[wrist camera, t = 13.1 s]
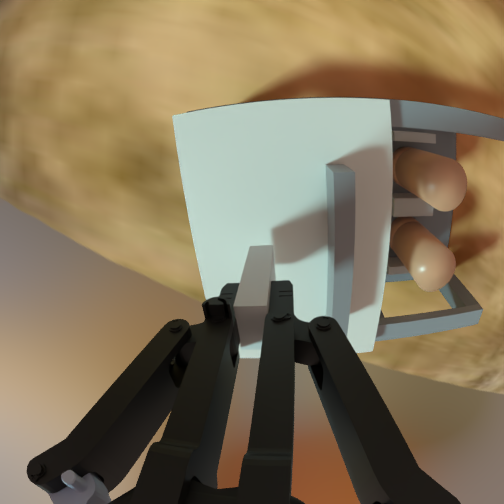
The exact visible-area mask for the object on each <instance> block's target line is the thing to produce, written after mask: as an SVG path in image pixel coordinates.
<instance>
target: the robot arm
mask: <svg viewBox="0 0 504 504" xmlns="http://www.w3.org/2000/svg"><path fill="white" fill-rule="evenodd" d="M202 307H203V311H204V315H205V321H204V322H203V323H200V324H196V325H191V326H189V323H188V322H187V321H186V320H183V319H176V320H172V321H170V322H168V323H167V324H166V325H164V327H163V328H162V329H161V330H160V331H159V332H158V333H157V334H156V336H155V337H154V338H153V339H152V340H151V341H150V342H149V343H148V345H147V346H146V347H145V348H144V349H143V350H142V351H141V353H140V354H139V355H138V356H137V357H136V358H135V359H134V360H133V361H132V363H131V364H130V365H129V366H128V367H127V368H126V369H125V371H124V372H123V373H122V374H121V375H120V376H119V377H118V379H117V380H116V381H115V382H114V383H113V384H112V385H111V387H110V388H109V389H108V390H107V391H106V392H105V394H104V395H103V396H102V397H101V398H100V399H99V400H98V402H97V403H96V404H95V405H94V406H93V407H92V408H91V410H90V411H89V412H88V413H87V414H86V416H85V417H84V418H83V419H82V420H81V421H80V422H79V424H78V425H77V426H76V427H75V429H73V431H72V432H71V433H70V434H69V436H68V437H67V438H66V439H65V440H63V441H61V442H60V443H58V444H57V445H55V446H53V447H52V448H50V449H48V450H47V451H45V452H43V453H41V454H40V455H38V456H36V457H35V458H33V459H32V460H31V461H30V462H29V464H28V466H27V475H28V478H29V479H30V481H31V482H33V483H34V484H35V485H37V486H38V487H40V488H41V489H43V490H45V491H46V492H47V493H48V494H49V496H50V498H51V500H52V501H53V503H54V504H305V503H304V502H302V501H300V500H299V499H297V498H295V497H293V496H291V484H292V464H293V437H294V436H293V435H294V393H295V390H294V389H295V362H296V363H300V364H305V365H308V368H309V371H310V373H311V376H312V379H313V381H314V384H315V386H316V389H317V392H318V394H319V397H320V400H321V402H322V405H323V407H324V410H325V412H326V415H327V418H328V420H329V423H330V425H331V428H332V431H333V434H334V436H335V438H336V441H337V444H338V447H339V449H340V452H341V455H342V457H343V460H344V462H345V465H346V468H347V471H348V473H349V476H350V479H351V481H352V484H353V487H354V489H355V492H356V494H357V497H358V499H359V501H360V503H361V504H461V503H460V502H459V501H458V499H457V498H456V497H454V496H453V495H452V494H451V493H449V492H448V491H447V490H445V489H444V488H443V487H442V486H441V485H440V484H438V483H437V482H436V481H435V480H433V479H432V478H431V477H430V476H429V475H427V474H426V473H425V472H424V471H422V470H421V469H420V468H419V467H418V465H417V463H416V461H415V459H414V457H413V455H412V453H411V451H410V449H409V447H408V445H407V443H406V442H405V439H404V438H403V436H402V434H401V432H400V430H399V428H398V426H397V425H396V423H395V421H394V419H393V418H392V415H391V414H390V412H389V410H388V408H387V406H386V404H385V403H384V401H383V399H382V397H381V396H380V394H379V392H378V390H377V389H376V387H375V385H374V383H373V381H372V380H371V378H370V376H369V374H368V373H367V371H366V369H365V367H364V366H363V364H362V362H361V360H360V359H359V357H358V355H357V354H356V352H355V350H354V349H353V347H352V345H351V343H350V342H349V340H348V338H347V337H346V335H345V333H344V332H343V330H342V328H341V327H340V325H339V323H338V322H337V321H336V320H335V319H334V318H332V317H329V316H319V317H316V318H314V319H312V320H311V321H310V322H305V321H302V320H300V319H298V318H297V317H296V316H295V315H294V298H293V284H292V283H291V282H290V281H289V280H282V281H276V276H275V263H274V251H273V245H260V246H250V247H249V251H248V254H247V258H246V262H245V265H244V269H243V273H242V276H241V280H240V283H227V284H226V285H225V286H224V287H223V288H222V289H221V292H220V295H219V297H212V298H209V299H207V300H206V301H204V302H203V304H202ZM239 344H240V346H241V350H261V355H260V363H259V370H258V379H257V386H256V393H255V401H254V408H253V415H252V424H251V430H250V437H249V444H248V450H247V453H246V454H245V455H244V458H243V461H242V467H241V474H240V479H239V486H238V487H235V488H225V489H217V469H218V464H219V459H220V454H221V450H222V444H223V439H224V435H225V429H226V425H227V419H228V414H229V409H230V404H231V399H232V394H233V389H234V383H235V379H236V374H237V368H238V363H239V358H240V355H239ZM173 359H174V360H173ZM170 411H171V413H170ZM169 413H170V416H169V419H168V422H167V425H166V427H165V430H164V433H163V436H162V438H161V440H160V441H159V442H155V443H153V444H152V445H151V446H150V448H149V451H148V453H147V456H146V459H145V461H144V464H143V467H142V470H141V473H140V475H139V478H138V481H137V484H136V487H134V488H133V489H131V490H130V491H128V492H126V493H125V494H123V495H122V496H120V497H118V498H116V499H115V500H113V501H111V499H110V497H109V494H108V493H109V492H110V491H111V490H113V489H114V488H115V487H116V486H117V485H118V484H119V483H120V482H121V481H122V480H123V479H124V477H125V476H126V475H127V474H128V472H129V471H130V469H131V468H132V466H133V465H134V464H135V462H136V461H137V459H138V458H139V457H140V455H141V453H142V452H143V451H144V449H145V448H146V447H147V445H148V444H149V442H150V441H151V439H152V438H153V436H154V435H155V433H156V432H157V430H158V429H159V428H160V426H161V425H162V423H163V422H164V420H165V419H166V417H167V416H168V414H169Z"/></svg>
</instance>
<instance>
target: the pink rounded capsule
mask: <svg viewBox="0 0 504 504" xmlns="http://www.w3.org/2000/svg"><path fill="white" fill-rule="evenodd" d="M393 180H394V182H395V183H397V184H398V185H400V186H401V187H403V188H405V189H406V190H408V191H409V192H411V193H413V194H414V195H416V196H417V197H419V198H420V199H422V200H423V201H425V202H427V203H428V204H430V205H431V206H432V207H434V208H435V209H437V210H439V211H451V210H453V209H455V208H456V207H457V206H458V205H459V204H460V203H461V202H462V200H463V199H464V196H465V194H466V190H467V178H466V174H465V171H464V169H463V167H462V166H461V165H460V164H459V163H458V162H457V161H456V160H454V159H451V158H448V157H444V156H441V155H438V154H434V153H431V152H427V151H423V150H419V149H416V148H412V147H401V148H398V149H397V150H396V151H394V153H393Z"/></svg>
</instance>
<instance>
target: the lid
mask: <svg viewBox="0 0 504 504" xmlns="http://www.w3.org/2000/svg"><path fill="white" fill-rule="evenodd" d="M172 117H173V124H174V132H175V139H176V145H177V152H178V158H179V165H180V171H181V177H182V183H183V189H184V194H185V200H186V205H187V211H188V216H189V222H190V227H191V232H192V237H193V242H194V247H195V252H196V256H197V261H198V266H199V270H200V275H201V280H202V284H203V288H204V293H205V297H206V300H207V299H209V298H212V297H219V295H220V292H221V289H222V288H223V287H224V286H225V285H226V284H227V283H240V280H241V276H242V273H243V269H244V265H245V262H246V258H247V254H248V251H249V247H250V246H260V245H273V251H274V263H275V276H276V281H282V280H289V281H290V282H291V283H292V284H293V298H294V315H295V316H296V317H297V318H298V319H300V320H302V321H305V322H310V321H311V320H312V319H314V318H316V317H319V316H329V317H332V318H334V319H335V320H336V321H337V322H338V323H339V325H340V327H341V328H342V330H343V332H344V333H345V335H346V337H347V338H348V340H349V342H350V343H351V345H352V347H353V349H354V350H355V352H356V353H361V352H370V351H373V347H374V343H375V338H376V333H377V328H378V323H379V317H380V311H381V306H382V299H383V293H384V286H385V279H386V271H387V262H388V253H389V242H390V230H391V215H392V189H393V152H392V127H391V112H390V100H384V99H367V98H305V99H286V100H273V101H262V102H253V103H244V104H236V105H229V106H222V107H216V108H210V109H204V110H198V111H193V112H188V113H183V114H178V115H173V116H172ZM239 355H240V358H260V355H261V350H241V346H240V344H239Z"/></svg>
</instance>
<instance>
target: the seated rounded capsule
mask: <svg viewBox="0 0 504 504" xmlns="http://www.w3.org/2000/svg"><path fill="white" fill-rule="evenodd" d="M389 245H390V247H391V248H392V249H393V251H394V252H395V253H396V255H397V256H398V258H399V259H400V260H401V262H402V263H403V264H404V266H405V267H406V269H407V270H408V271H409V273H410V274H411V276H412V277H413V279H414V280H415V282H416V283H417V284H418V286H419V287H420V288H421V289H422V290H424V291H427V292H432V291H436V290H439V289H441V288H442V287H444V286H445V285H446V284H447V283H448V282H449V281H450V279H451V278H452V276H453V274H454V272H455V267H456V260H455V256H454V254H453V253H452V252H451V251H450V250H449V249H448V248H447V247H446V246H445V245H444V244H443V243H442V242H441V241H440V240H438V239H437V238H436V237H435V236H434V235H433V234H432V233H431V232H430V231H429V230H427V229H426V228H425V227H424V226H423V225H422V224H421V223H419V222H418V221H417V220H416V219H415V218H413V217H411V216H409V217H398V218H396V219H395V220H394V221H393V222H392V223H391V230H390V242H389Z"/></svg>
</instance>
